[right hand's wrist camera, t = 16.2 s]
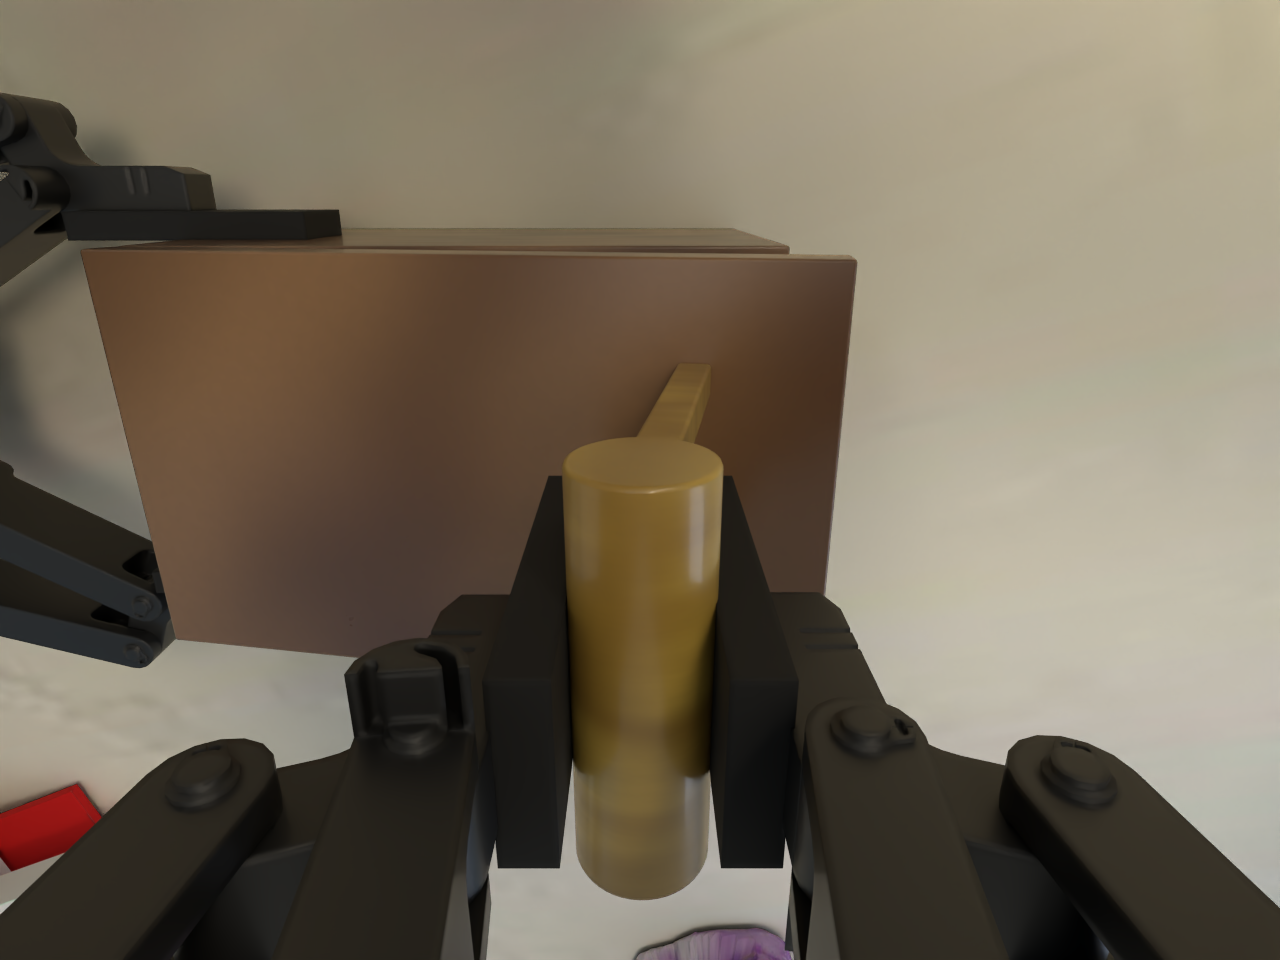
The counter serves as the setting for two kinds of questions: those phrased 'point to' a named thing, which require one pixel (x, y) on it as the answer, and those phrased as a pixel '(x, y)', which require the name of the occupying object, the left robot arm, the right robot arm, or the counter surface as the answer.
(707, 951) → the figurine
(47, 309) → the counter surface
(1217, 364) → the counter surface
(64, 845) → the toy
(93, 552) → the left robot arm
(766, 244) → the chest
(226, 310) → the lid
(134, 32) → the counter surface
